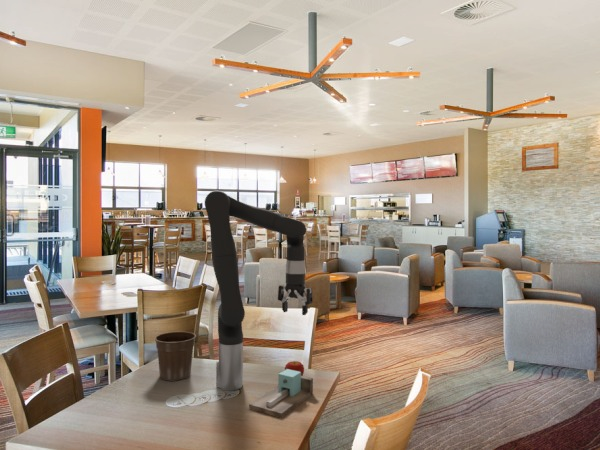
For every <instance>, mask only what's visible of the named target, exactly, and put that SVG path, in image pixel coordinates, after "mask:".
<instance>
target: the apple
mask: <svg viewBox="0 0 600 450" xmlns="http://www.w3.org/2000/svg"><path fill="white" fill-rule="evenodd" d="M286 369H290V370H294V371H299V372H301V376H304V372H305V367H304V364H303V363H302V362H301V361H297V360H295V361H288V362H287V363H286V364H285V367H284V370H286Z"/></svg>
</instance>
